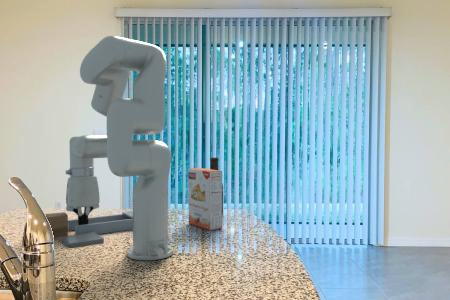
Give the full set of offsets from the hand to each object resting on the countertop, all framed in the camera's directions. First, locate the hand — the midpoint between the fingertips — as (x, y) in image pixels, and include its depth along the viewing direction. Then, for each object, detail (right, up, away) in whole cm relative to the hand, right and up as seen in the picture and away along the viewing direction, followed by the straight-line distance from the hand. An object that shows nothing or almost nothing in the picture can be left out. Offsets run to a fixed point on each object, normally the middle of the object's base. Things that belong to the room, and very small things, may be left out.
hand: (83, 226), depth 131 cm
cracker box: (+41, -2, +10) cm, 42 cm away
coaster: (+4, -2, -11) cm, 12 cm away
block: (-7, -2, -4) cm, 9 cm away
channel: (+7, -2, +6) cm, 9 cm away
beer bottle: (+44, -1, +30) cm, 53 cm away
